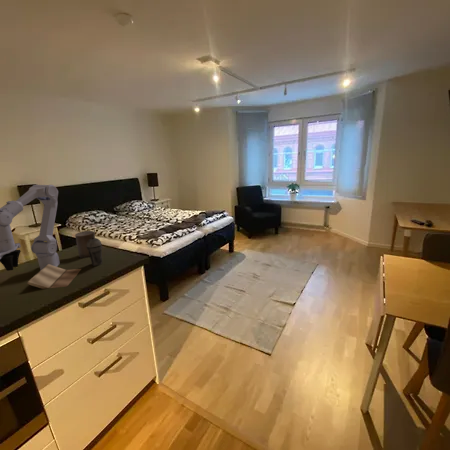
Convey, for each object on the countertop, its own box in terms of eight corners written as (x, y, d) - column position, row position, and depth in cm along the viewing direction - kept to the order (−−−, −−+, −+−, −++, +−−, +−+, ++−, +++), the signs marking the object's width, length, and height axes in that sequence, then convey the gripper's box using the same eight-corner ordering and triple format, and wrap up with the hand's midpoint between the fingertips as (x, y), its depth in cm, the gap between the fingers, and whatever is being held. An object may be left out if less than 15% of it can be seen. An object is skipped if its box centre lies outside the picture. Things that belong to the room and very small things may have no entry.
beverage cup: (87, 265, 133) (81, 230, 128) (101, 261, 138) (96, 227, 133) (93, 270, 129) (86, 233, 123) (107, 265, 134) (101, 230, 128)
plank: (47, 266, 124) (48, 264, 124) (65, 271, 126) (66, 269, 126) (26, 283, 107) (27, 281, 107) (47, 290, 109) (48, 287, 109)
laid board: (67, 272, 127) (66, 269, 126) (82, 270, 128) (81, 268, 127) (50, 290, 110) (49, 287, 109) (67, 288, 111) (67, 286, 110)
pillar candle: (100, 254, 149) (96, 230, 145) (84, 259, 141) (80, 234, 137) (91, 251, 154) (87, 227, 150) (75, 256, 146) (70, 232, 142)
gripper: (5, 234, 112) (12, 262, 116) (-19, 246, 99) (-10, 276, 102) (22, 233, 113) (29, 261, 117) (1, 244, 100) (9, 275, 103)
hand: (12, 268), depth 110 cm, fingers open, 3 cm apart
